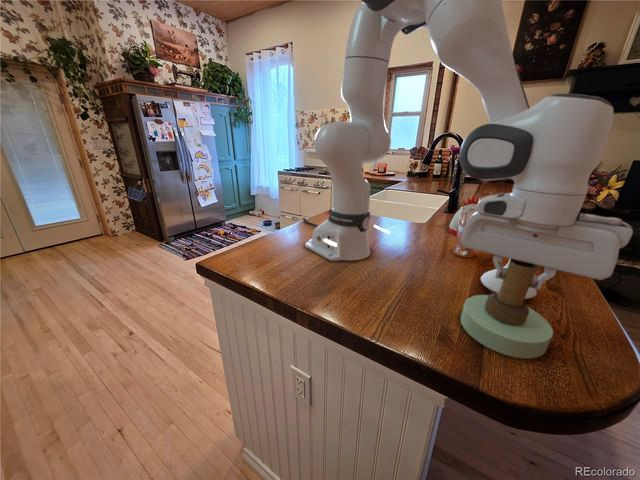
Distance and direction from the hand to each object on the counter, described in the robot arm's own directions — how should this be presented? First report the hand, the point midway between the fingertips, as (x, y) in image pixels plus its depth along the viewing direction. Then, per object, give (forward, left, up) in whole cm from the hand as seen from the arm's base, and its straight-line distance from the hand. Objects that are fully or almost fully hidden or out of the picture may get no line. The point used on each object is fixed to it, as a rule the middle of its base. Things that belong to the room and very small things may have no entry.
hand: (516, 282), depth 46 cm
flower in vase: (-1, +17, -11) cm, 20 cm away
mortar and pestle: (0, 0, -7) cm, 7 cm away
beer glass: (-15, +35, -11) cm, 40 cm away
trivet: (0, 0, -11) cm, 11 cm away
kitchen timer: (-19, +59, -11) cm, 63 cm away
